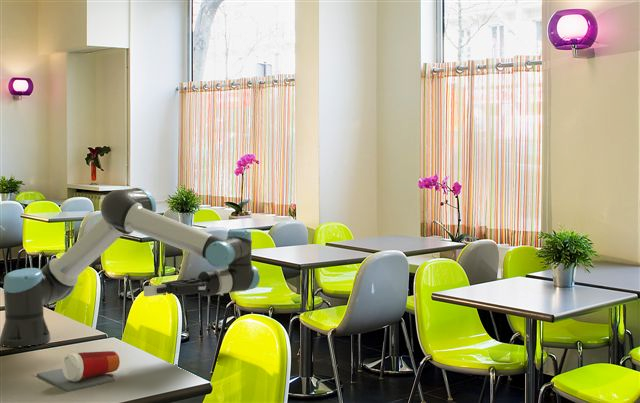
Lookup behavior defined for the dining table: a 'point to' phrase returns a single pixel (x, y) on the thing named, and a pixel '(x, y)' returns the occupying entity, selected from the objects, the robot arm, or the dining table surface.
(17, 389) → the dining table surface
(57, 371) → the mat
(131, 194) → the robot arm
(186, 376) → the dining table surface
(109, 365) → the paper cup
